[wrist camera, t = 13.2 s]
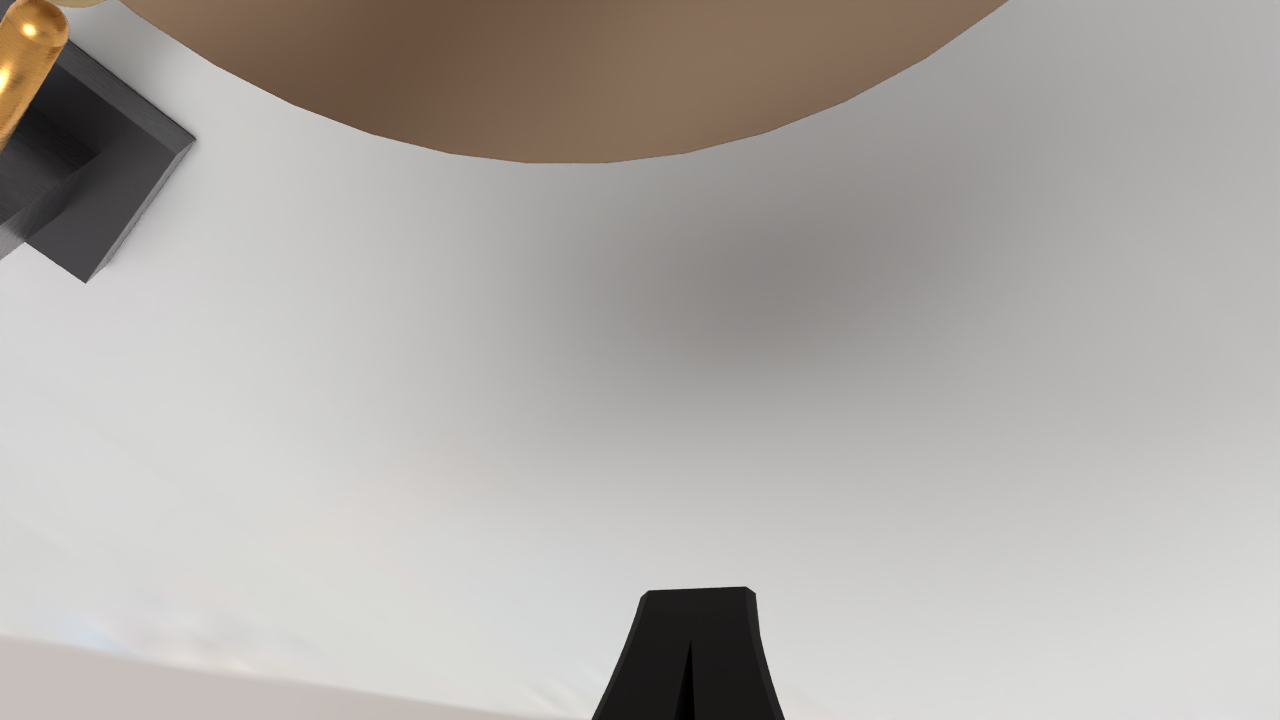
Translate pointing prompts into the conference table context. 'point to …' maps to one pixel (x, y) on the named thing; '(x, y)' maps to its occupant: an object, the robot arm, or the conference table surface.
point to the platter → (563, 65)
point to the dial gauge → (72, 145)
